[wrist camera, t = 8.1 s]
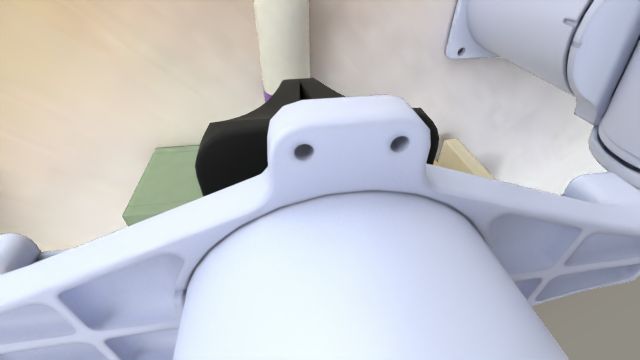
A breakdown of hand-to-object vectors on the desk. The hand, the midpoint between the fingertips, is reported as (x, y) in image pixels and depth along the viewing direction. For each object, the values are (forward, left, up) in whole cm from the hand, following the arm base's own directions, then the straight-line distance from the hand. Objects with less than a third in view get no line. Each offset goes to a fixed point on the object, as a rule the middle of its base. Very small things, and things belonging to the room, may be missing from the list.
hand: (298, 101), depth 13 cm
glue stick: (0, 0, -8) cm, 9 cm away
